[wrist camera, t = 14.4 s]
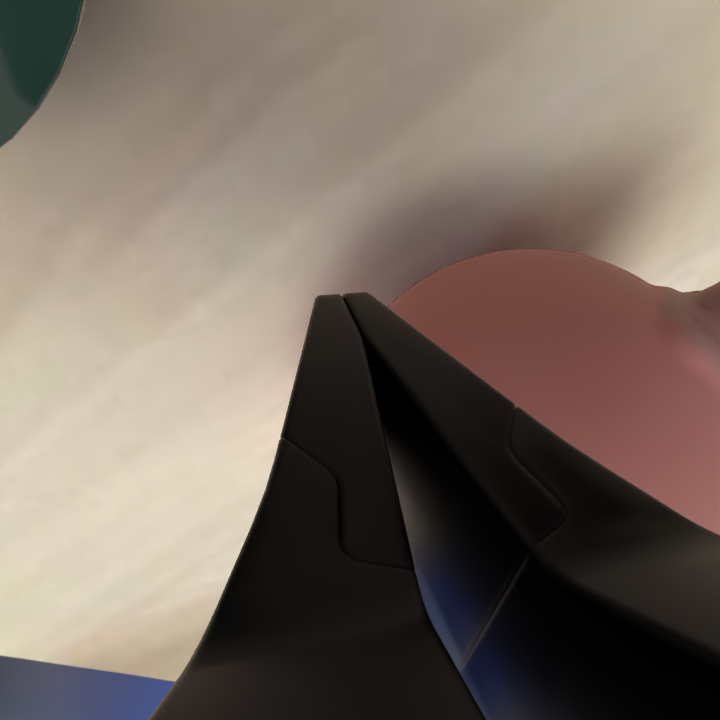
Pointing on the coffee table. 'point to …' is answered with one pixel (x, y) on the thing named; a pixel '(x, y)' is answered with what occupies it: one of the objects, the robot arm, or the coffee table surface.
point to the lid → (32, 55)
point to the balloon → (591, 361)
